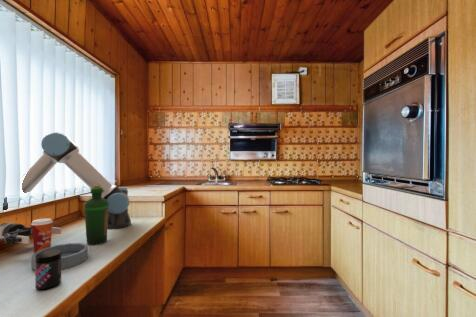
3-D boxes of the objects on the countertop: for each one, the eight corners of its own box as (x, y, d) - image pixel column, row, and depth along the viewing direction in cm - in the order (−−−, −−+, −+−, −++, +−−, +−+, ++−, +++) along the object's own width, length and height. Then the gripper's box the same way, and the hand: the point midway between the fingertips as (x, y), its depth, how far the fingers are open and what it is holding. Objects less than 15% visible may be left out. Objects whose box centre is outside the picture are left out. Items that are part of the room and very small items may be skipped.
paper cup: (41, 255, 105) (40, 222, 105) (26, 254, 107) (26, 221, 107) (57, 249, 113) (57, 218, 113) (44, 248, 115) (43, 217, 115)
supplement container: (34, 285, 80) (34, 253, 80) (60, 279, 85) (60, 248, 85) (35, 294, 75) (35, 259, 75) (62, 286, 80) (62, 254, 80)
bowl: (87, 250, 111) (87, 240, 111) (88, 264, 96) (88, 253, 96) (36, 259, 102) (36, 248, 102) (27, 276, 87) (27, 264, 87)
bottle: (114, 240, 125) (113, 184, 125) (95, 247, 115) (95, 186, 115) (98, 238, 129) (97, 183, 129) (78, 244, 119) (78, 186, 119)
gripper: (39, 232, 127) (71, 235, 121) (-24, 249, 103) (12, 254, 97) (39, 217, 127) (71, 220, 121) (-24, 231, 103) (12, 235, 97)
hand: (45, 235), depth 109 cm, fingers open, 13 cm apart
